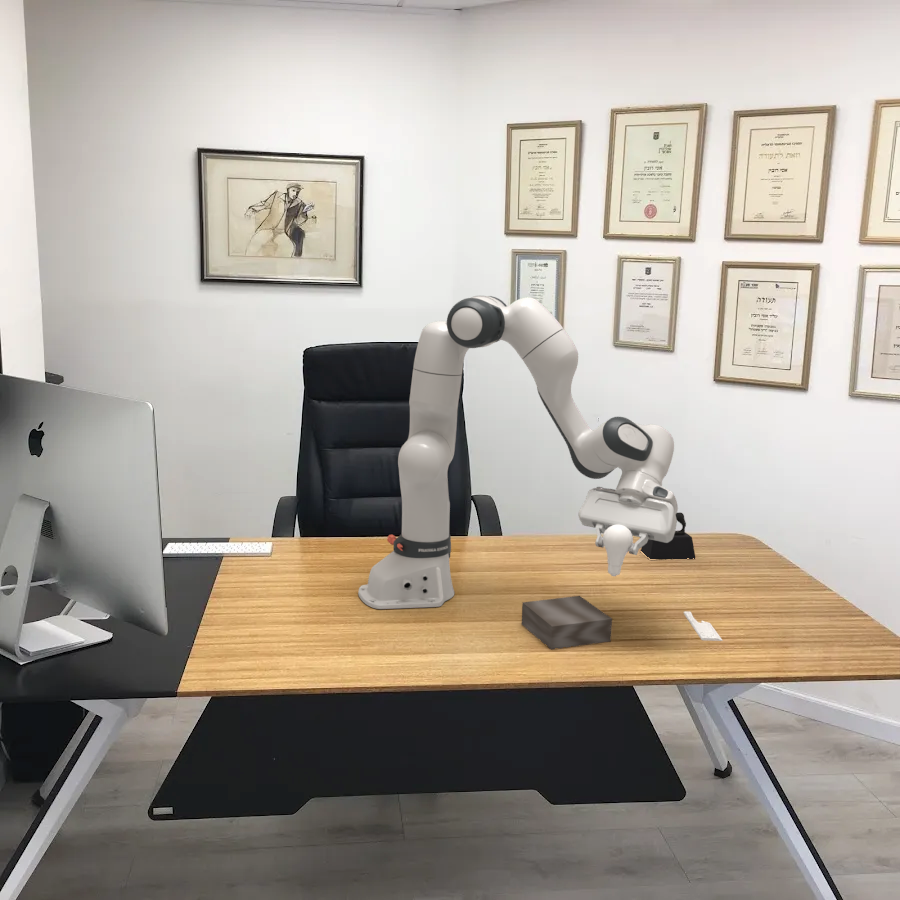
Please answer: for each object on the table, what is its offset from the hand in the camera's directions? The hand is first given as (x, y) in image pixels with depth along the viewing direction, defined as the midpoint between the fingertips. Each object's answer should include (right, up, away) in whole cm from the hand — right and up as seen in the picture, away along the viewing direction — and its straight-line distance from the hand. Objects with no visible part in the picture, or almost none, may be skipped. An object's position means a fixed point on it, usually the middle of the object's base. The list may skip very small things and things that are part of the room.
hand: (615, 549), depth 191 cm
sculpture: (+25, -9, +62) cm, 68 cm away
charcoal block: (-9, -19, +8) cm, 22 cm away
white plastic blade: (+22, -19, +14) cm, 32 cm away
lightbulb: (0, -6, +2) cm, 6 cm away
